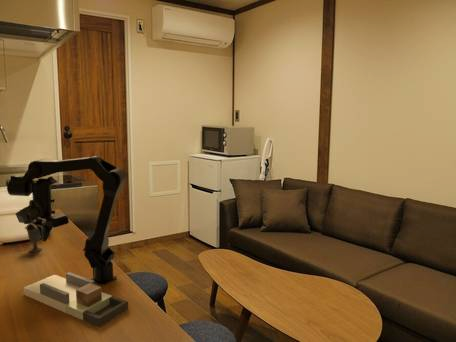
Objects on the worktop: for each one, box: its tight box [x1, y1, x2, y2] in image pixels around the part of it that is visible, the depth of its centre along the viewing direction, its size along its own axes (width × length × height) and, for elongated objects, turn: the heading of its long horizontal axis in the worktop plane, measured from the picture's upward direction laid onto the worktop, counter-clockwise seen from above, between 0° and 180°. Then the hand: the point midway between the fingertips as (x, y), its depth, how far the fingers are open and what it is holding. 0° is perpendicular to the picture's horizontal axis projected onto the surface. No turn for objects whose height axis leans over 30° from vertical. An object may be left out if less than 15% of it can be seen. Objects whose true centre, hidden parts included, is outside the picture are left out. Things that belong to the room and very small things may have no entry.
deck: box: [23, 274, 112, 321], centre depth 120 cm, size 28×11×2 cm, turn 60°
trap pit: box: [82, 295, 129, 328], centre depth 112 cm, size 6×11×2 cm, turn 150°
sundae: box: [24, 223, 43, 253], centre depth 158 cm, size 7×7×15 cm
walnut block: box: [76, 283, 102, 307], centre depth 114 cm, size 5×5×4 cm
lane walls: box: [40, 271, 95, 304], centre depth 120 cm, size 12×10×3 cm
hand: (44, 241), depth 133 cm, fingers closed
